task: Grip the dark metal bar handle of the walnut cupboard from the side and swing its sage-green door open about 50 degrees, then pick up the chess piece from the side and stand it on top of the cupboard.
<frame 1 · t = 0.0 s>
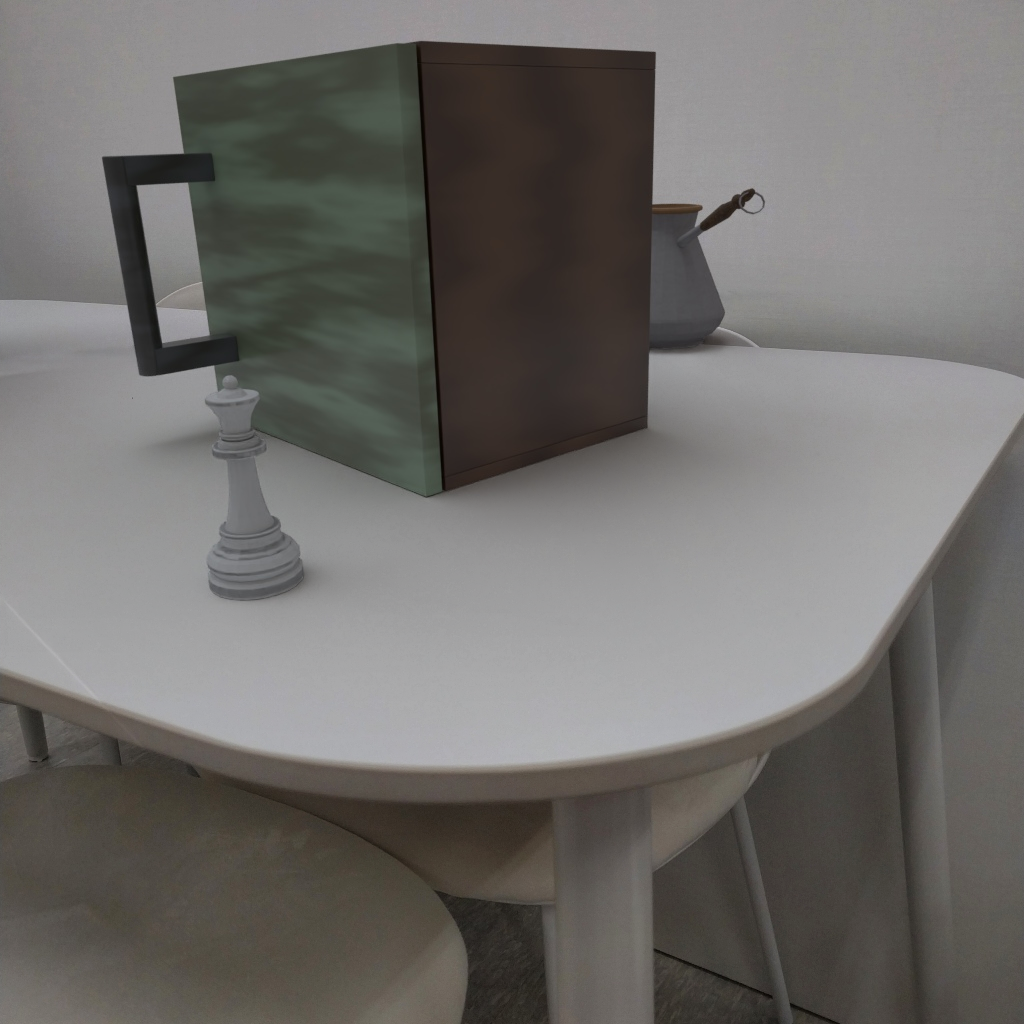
cabinet: (432, 421, 71), on the table
chess piece: (258, 585, 46), on the table
cup: (341, 348, 98), on the table
coffee pot: (686, 352, 92), on the table
cabinet door: (247, 275, 59), point 12 cm above the table, hinge at 0.0°
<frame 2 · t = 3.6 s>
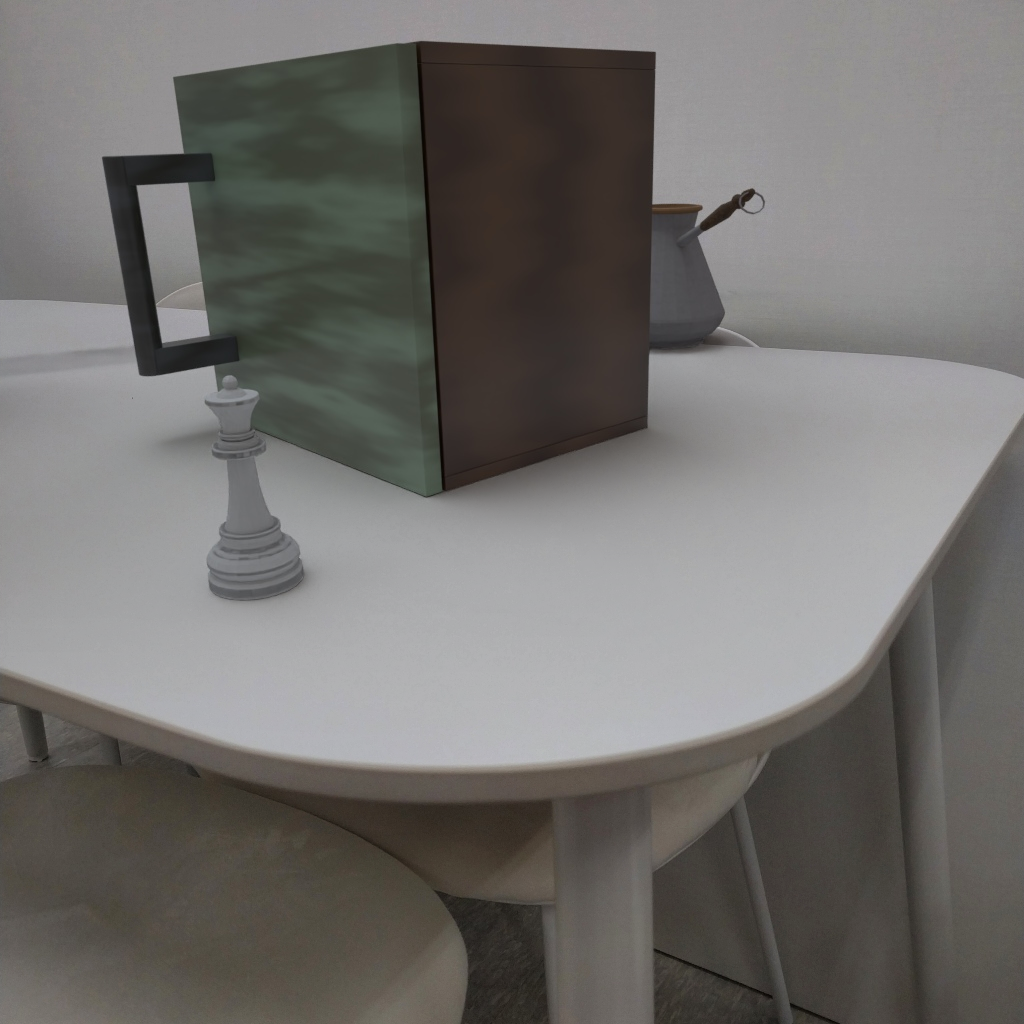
nothing on the table moved.
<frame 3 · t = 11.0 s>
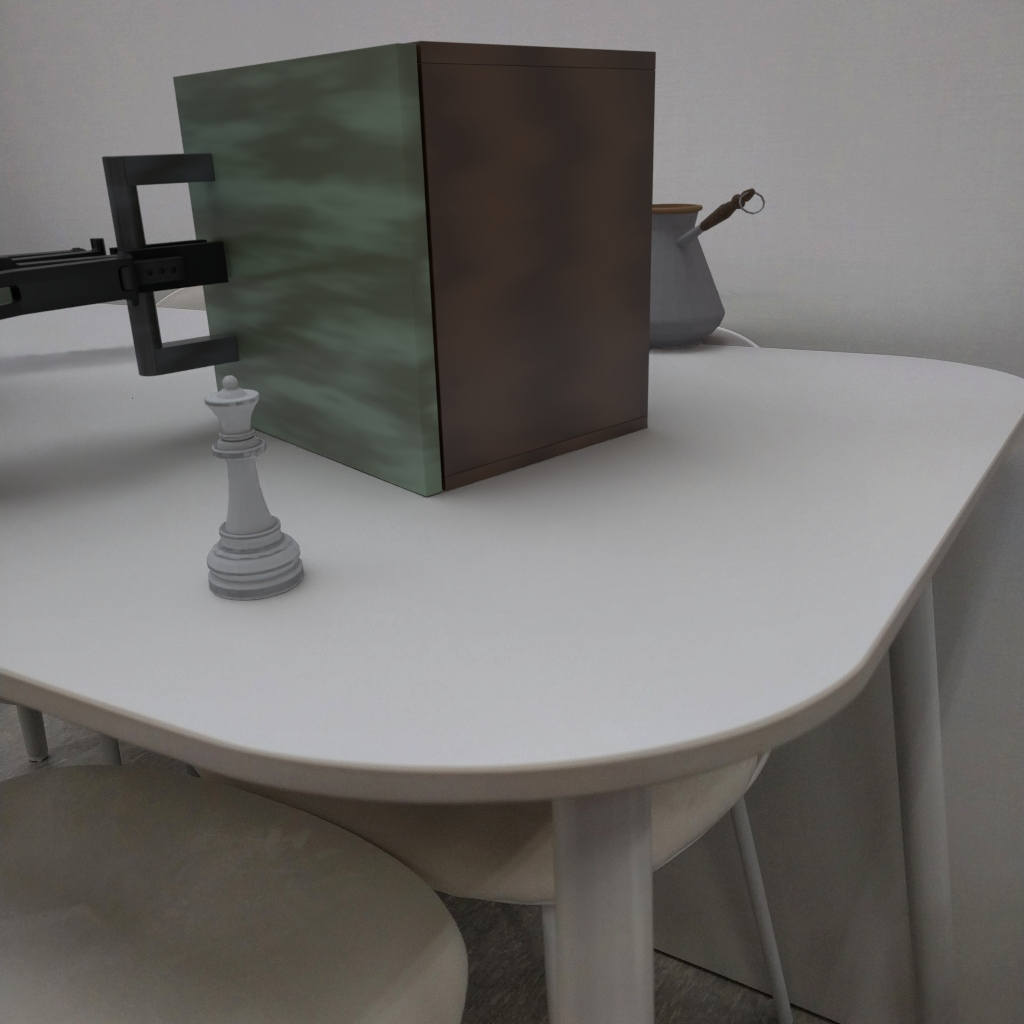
hand: (214, 260, 67), 12 cm above the table, tool horizontal, fingers closed on cabinet door, 2 cm apart
cabinet door: (247, 275, 59), point 12 cm above the table, hinge at 0.0°, touching gripper
everything else where it was.
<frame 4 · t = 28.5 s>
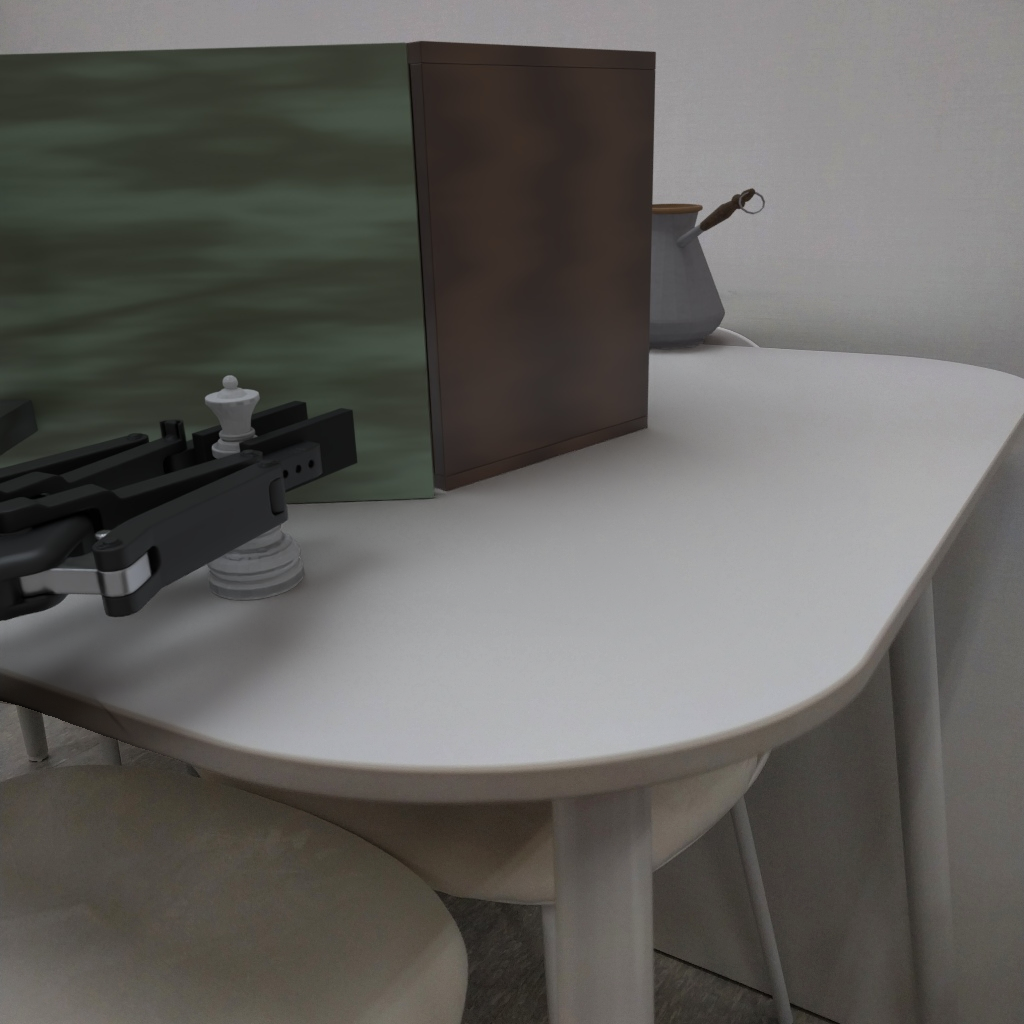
hand: (325, 431, 48), 6 cm above the table, tool horizontal, fingers closed on chess piece, 2 cm apart
chess piece: (258, 585, 46), on the table, touching gripper
cabinet door: (158, 306, 49), point 12 cm above the table, hinge at 49.9°
everything else where it was.
when the fingers open (30 cm above the table, at t = 40.5 s): chess piece stays where it is, resting on cabinet.
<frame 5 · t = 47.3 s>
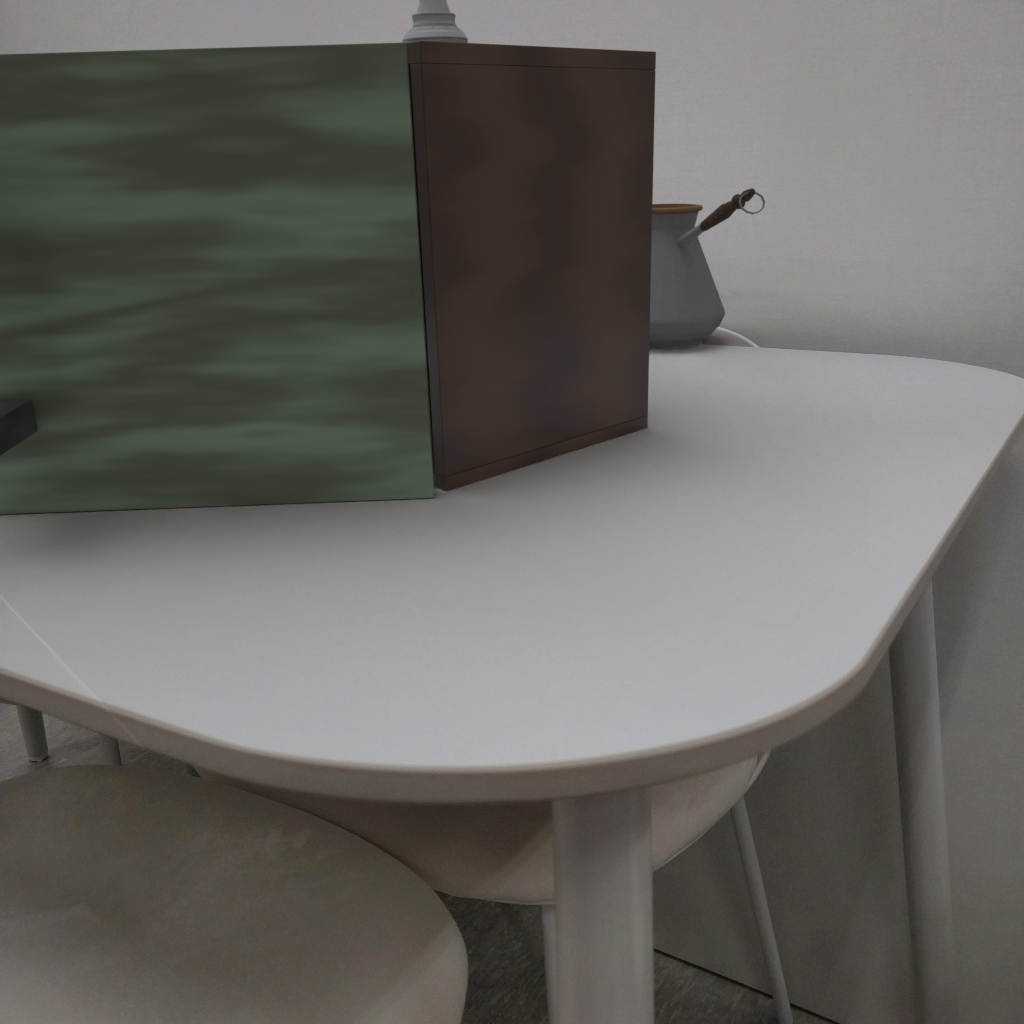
chess piece: (436, 67, 64), point 24 cm above the table, touching cabinet
everything else where it was.
at the end: cabinet door at +50° (first picture: +0°); chess piece inside the target area on the cabinet (2.0 cm from its centre), point 23.8 cm above the cabinet's base; chess piece tilted 0° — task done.
